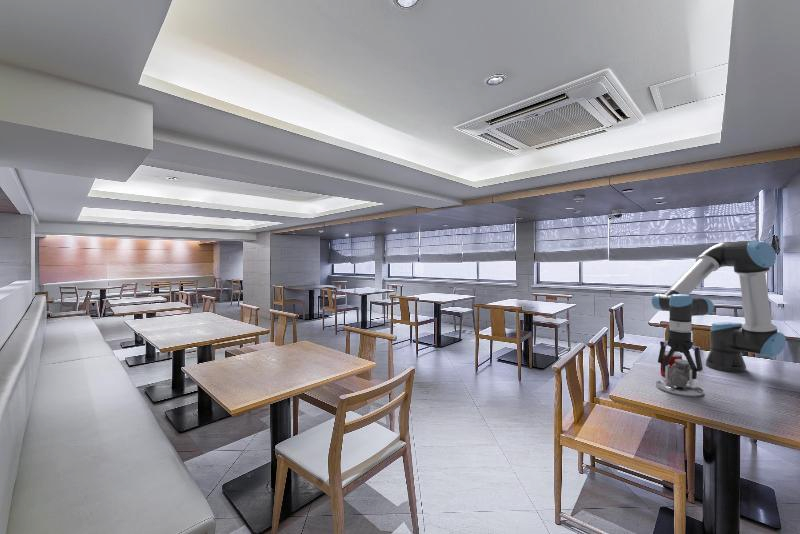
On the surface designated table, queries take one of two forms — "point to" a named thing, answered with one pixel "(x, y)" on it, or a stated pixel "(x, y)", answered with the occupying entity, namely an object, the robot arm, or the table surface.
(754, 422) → the table surface
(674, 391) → the duct flange
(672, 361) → the canned food
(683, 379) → the pipe fitting
